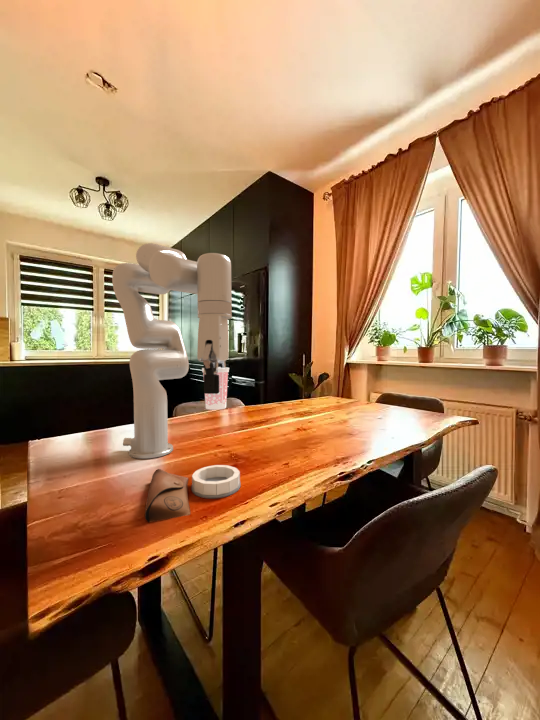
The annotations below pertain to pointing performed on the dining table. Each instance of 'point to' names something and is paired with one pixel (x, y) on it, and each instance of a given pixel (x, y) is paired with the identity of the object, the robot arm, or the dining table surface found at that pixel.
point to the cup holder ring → (216, 481)
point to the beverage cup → (221, 398)
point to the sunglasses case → (167, 497)
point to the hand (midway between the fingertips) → (215, 390)
